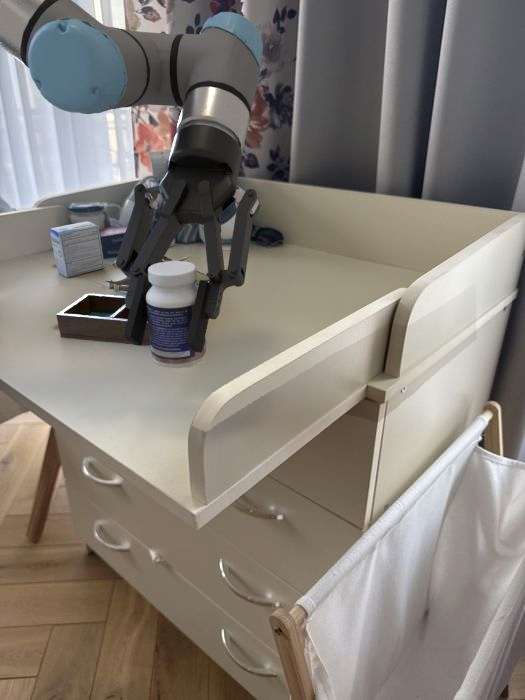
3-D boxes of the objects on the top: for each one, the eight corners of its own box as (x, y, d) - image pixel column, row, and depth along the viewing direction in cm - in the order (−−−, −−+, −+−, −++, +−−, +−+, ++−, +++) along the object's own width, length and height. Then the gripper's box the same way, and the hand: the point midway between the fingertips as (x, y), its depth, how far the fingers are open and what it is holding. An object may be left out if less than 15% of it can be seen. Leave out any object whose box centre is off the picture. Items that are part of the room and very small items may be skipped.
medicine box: (94, 263, 109) (87, 220, 105) (105, 268, 106) (98, 224, 102) (57, 272, 104) (48, 228, 100) (67, 278, 101) (58, 232, 97)
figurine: (148, 240, 104) (230, 248, 99) (150, 271, 107) (230, 280, 102) (85, 266, 87) (180, 277, 82) (89, 302, 89) (182, 315, 84)
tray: (166, 347, 75) (163, 324, 74) (60, 336, 79) (55, 314, 77) (188, 322, 83) (186, 301, 81) (91, 313, 86) (87, 293, 85)
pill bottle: (208, 368, 55) (203, 275, 51) (151, 373, 55) (140, 278, 50) (204, 343, 60) (199, 256, 56) (152, 347, 60) (142, 259, 55)
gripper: (297, 169, 61) (263, 366, 54) (143, 164, 65) (94, 346, 58) (288, 121, 54) (248, 341, 47) (116, 119, 58) (56, 321, 51)
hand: (163, 344), depth 53 cm, fingers closed on pill bottle, 6 cm apart
